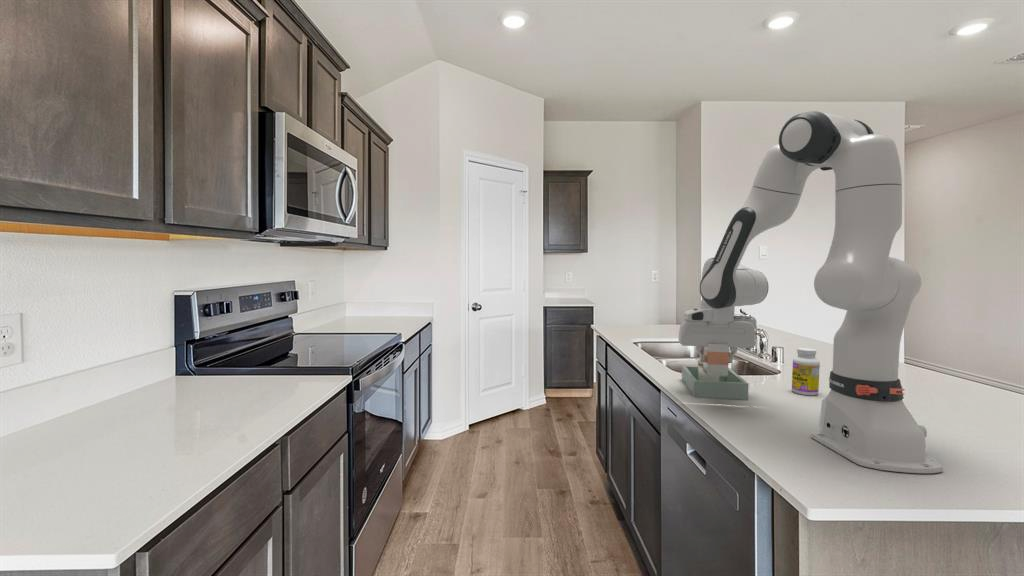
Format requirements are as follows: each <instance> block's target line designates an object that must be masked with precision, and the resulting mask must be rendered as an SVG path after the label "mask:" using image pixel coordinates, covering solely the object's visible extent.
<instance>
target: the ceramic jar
mask: <svg viewBox="0 0 1024 576" xmlns="http://www.w3.org/2000/svg"><path fill="white" fill-rule="evenodd" d="M697 366H698V381H718V382H719V377H720V376H707V375H706V374H705V373H704V371H703V362H700V360H697Z"/></svg>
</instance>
